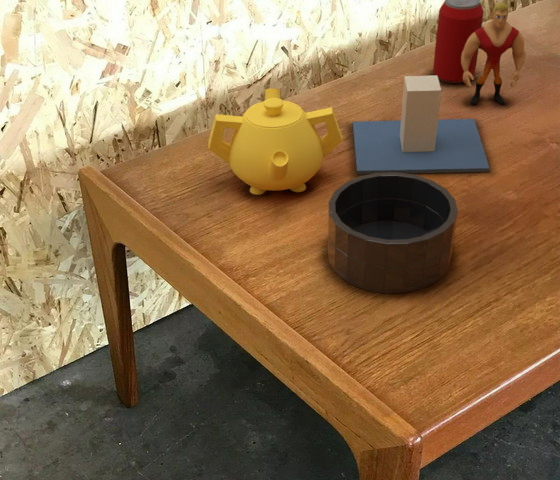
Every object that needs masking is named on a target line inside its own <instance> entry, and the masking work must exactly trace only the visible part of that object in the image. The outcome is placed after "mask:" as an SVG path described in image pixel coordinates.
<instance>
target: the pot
mask: <svg viewBox="0 0 560 480" xmlns="http://www.w3.org/2000/svg"><path fill="white" fill-rule="evenodd" d="M327 207H328V208H327V211H328V212H327V213H328V214H327V215H328V216H327V218H328V219H327V225H328V227H327V228H328V229H327V256H328V262H329V265H330V267H331V269H332V270H333V271H334V273H335V274H336V275H337V276H338V277H339V278H341V280H342V281H344V282H345V283H348V284H350V285H351V286H354V287H356V288H358V289H360V290H364V291H368V292H373V293H377V294H378V293H379V294H391V295H395V294H407V293H412V292H415V291H419V290H422V289H425V288H427V287H429V286H432V285H433V284H435V283H436V282H438V281H439V280H440V279H441V278H442V277H443V276H444V275H445V274H446V272H447V271H448V269H449V266H450V264H451V258H452V255H453V248H454V240H455V234H456V227H457V220H458V213H459V210H458V205H457V201H456V199H455V197H454V196H453V195H452V194H451V193H450V192H449V190H448V189H447V188H445V187H444V186H442V185H440V184H439V183H437V182H436V181H434V180H432V179H429V178H426V177H423V176H421V175H417V174H414V173H408V174H406V173H399V172H391V173H374V174H363V175H359V176H357V177H355V178H353V179H349V180H348V181H345V182H344V183H342V184H341V185H340V186H339V187H337V189H335V190H334V191H333V193H332V194H331V196H330V199H329V200H328V206H327Z"/></svg>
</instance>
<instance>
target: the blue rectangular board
mask: <svg viewBox="0 0 560 480" xmlns="http://www.w3.org/2000/svg"><path fill="white" fill-rule="evenodd" d="M400 126H401V119H399V120H364V121H363V120H362V121H361V120H359V121H358V120H357V121H352V133H353V144H354V156H355V158H354V159H355V169H356V175H369V174H374V173H391V172H399V173H406V174H449V173H450V174H451V173H490V165H489V162H488V158H487V155H486V153H485V149H484V146H483V143H482V140H481V136H480V133H479V130H478V127H477V123H476V120H475V118H452V119H451V118H448V119H446V118H445V119H438V125H437V134H436V143H435V151H431V152H402V147H401V141H400Z"/></svg>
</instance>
